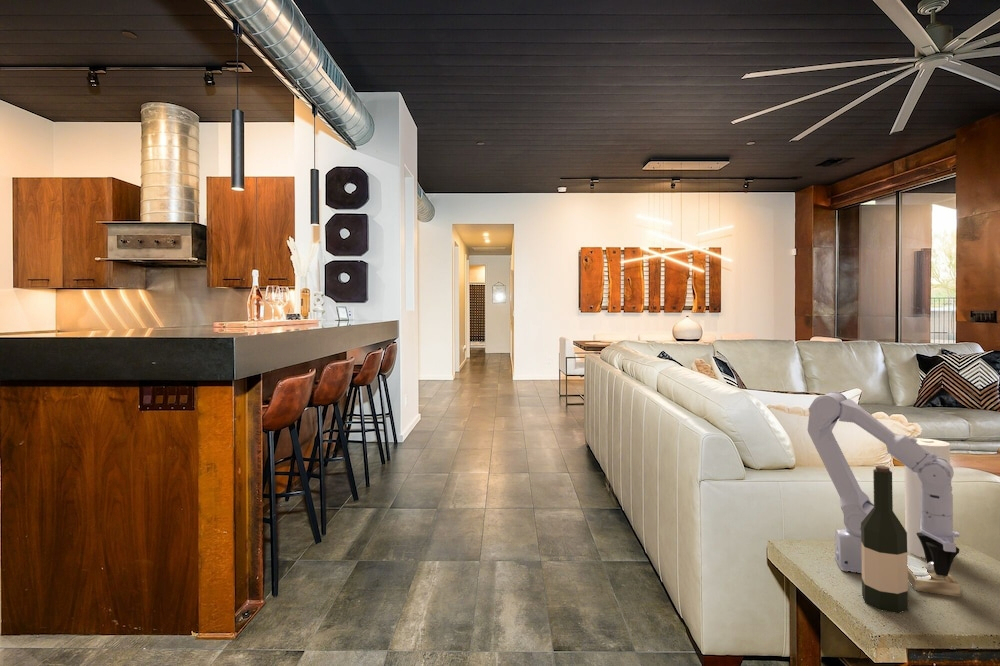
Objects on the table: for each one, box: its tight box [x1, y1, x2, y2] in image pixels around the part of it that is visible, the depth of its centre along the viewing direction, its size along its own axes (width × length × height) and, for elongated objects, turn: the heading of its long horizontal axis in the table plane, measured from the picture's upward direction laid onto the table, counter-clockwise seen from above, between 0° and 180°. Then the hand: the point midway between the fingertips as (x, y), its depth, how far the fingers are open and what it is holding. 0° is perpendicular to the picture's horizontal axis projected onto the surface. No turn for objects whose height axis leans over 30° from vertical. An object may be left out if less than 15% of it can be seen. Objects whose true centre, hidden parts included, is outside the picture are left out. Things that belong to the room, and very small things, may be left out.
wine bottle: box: [861, 465, 909, 614], centre depth 117 cm, size 8×8×30 cm
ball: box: [925, 561, 950, 580], centre depth 123 cm, size 4×4×4 cm
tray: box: [908, 566, 961, 597], centre depth 124 cm, size 8×8×3 cm
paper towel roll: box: [904, 437, 951, 559], centre depth 140 cm, size 9×9×30 cm
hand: (937, 570), depth 123 cm, fingers closed on ball, 4 cm apart
